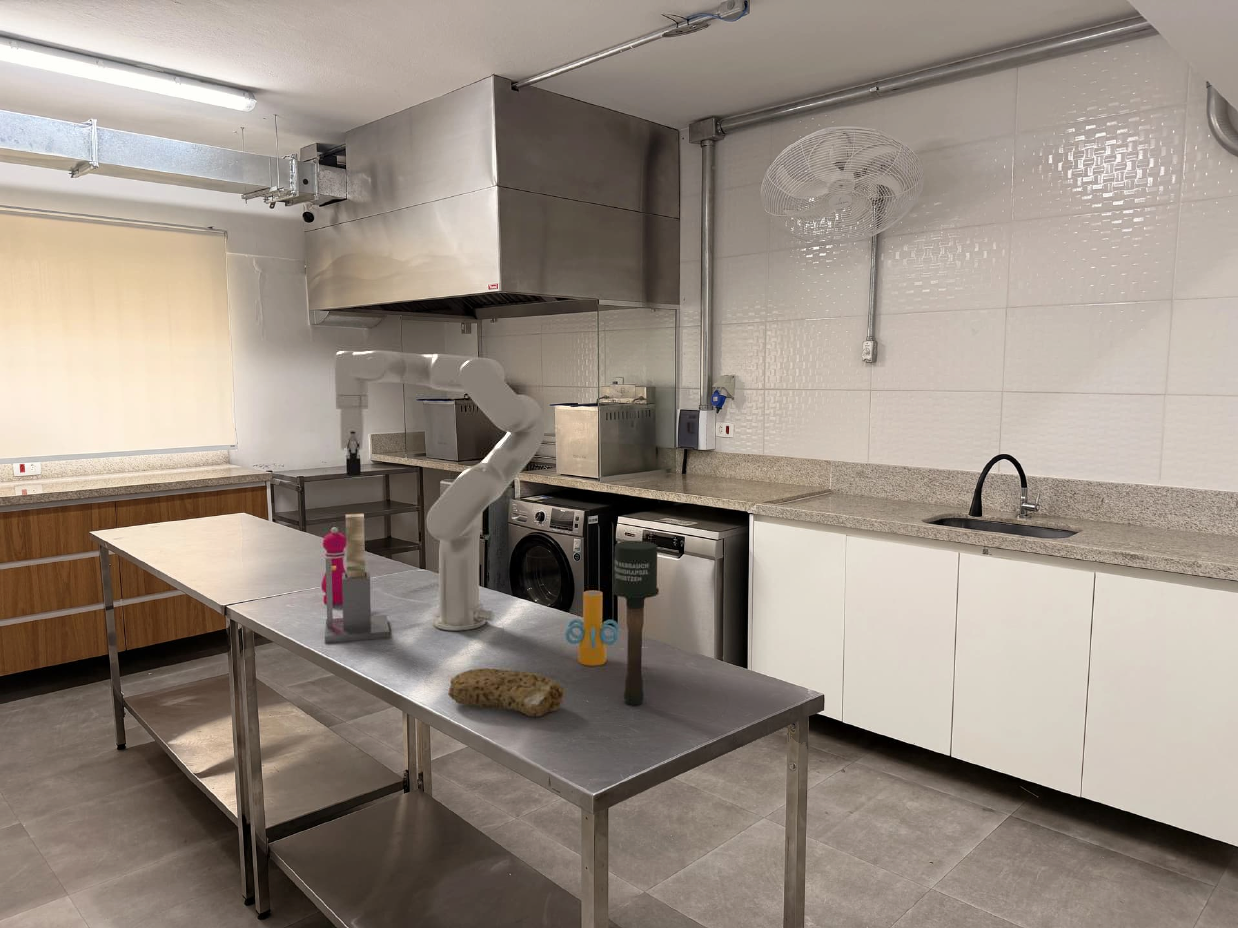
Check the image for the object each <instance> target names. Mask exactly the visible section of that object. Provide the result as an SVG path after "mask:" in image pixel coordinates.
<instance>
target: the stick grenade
mask: <svg viewBox="0 0 1238 928" xmlns="http://www.w3.org/2000/svg"><path fill="white" fill-rule="evenodd" d="M613 579H614V582H613V587H612V589H611V592H612V594H613V595H615V596H616V597H621V598H624V599H625V600H626V601H625V602H626V627H627V646H626V647H627V653H626V657H627V658H626V660H627V662H626V663H627V667H626V676H625V680H624V682H625V683H624V684H625V685H624V692H623V693H624V694H623V699H624V702H625V703H626V704H627V703H628V704H627V705H629V704H630V705H631V706H638V704H639V705H641V704H642V703H643V701H644V696H645V695H644V680H643V679H644V678H643V675H642V660H643V659H642V656H643V654H642V653H643V652H642V651H643V649H642V648H643V628H644V616H645V612H644V611H645V600H646V599H650V598H653V597H656V596H657V595H659V592H660V591H659V590H660V589H659V588H658V586H657V585H658V545H657V544H656V543H654V542H650V541H646V540H645V541H644V540H625V541H620V542H617V543H616V544H615V546H614V578H613ZM640 703H641V704H640Z"/></svg>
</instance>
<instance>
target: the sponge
mask: <svg viewBox="0 0 1238 928" xmlns="http://www.w3.org/2000/svg"><path fill="white" fill-rule="evenodd" d="M564 689H565V687H564V686H563V685H562V684H561V683H560V682H558V681H557V680H555V679H554V678H553V679H552V678H550V677H548V676H545V675H543V674H540V673H536V672H530V671H522V670H521V671H518V670H508V669H497V668H487V667H486V668H477V669H476V668H475V669H470V670H466V671H464V672H461V673H459V674H457V675H455V676H454V677H453V678H451V679H450V686H449V688H448V696H449V698H451V699H452V700H454V701H455V702H456V704H460V705H464V706H468V707H474V708H477V709H479V708H481V709H508V710H513V711H516V712H519V713H523V714H525V715H527V716H528V717H529V716H530V717H541V716H543V715H545V714H547V713H550V712H549V711H553V712H555V711H554V710H556V711H557V710H558V709H559V708H560V706H561V703H562V700H563V698H564V696H565V690H564ZM500 707H501V708H500Z"/></svg>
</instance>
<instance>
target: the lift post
mask: <svg viewBox="0 0 1238 928" xmlns="http://www.w3.org/2000/svg"><path fill="white" fill-rule="evenodd" d="M345 538H346V547H345V549H346V551H345V553H346V573H347V578H358V577H365V572H366V555H365V554H366V553H365V552H366V551H365V550H366V549H365V544H366V543H365V515H364V513H348V514H345Z"/></svg>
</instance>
